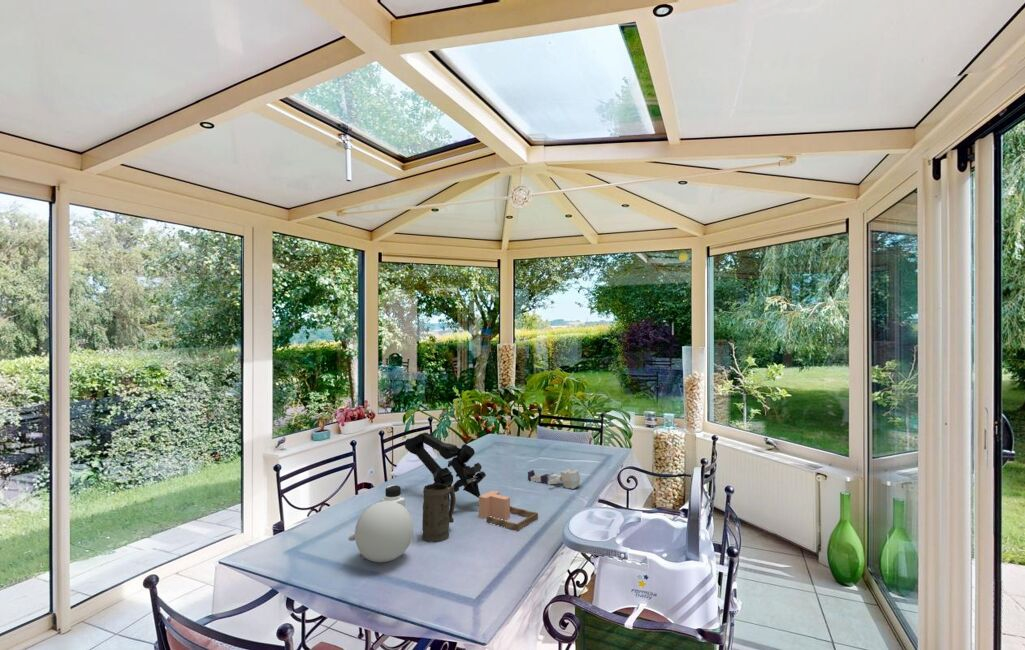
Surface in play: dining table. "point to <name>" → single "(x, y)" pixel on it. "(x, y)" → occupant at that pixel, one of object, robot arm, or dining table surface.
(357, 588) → the dining table surface
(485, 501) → the t block
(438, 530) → the beer stein
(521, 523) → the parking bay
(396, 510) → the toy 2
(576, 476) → the toy
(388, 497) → the container
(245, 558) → the dining table surface
